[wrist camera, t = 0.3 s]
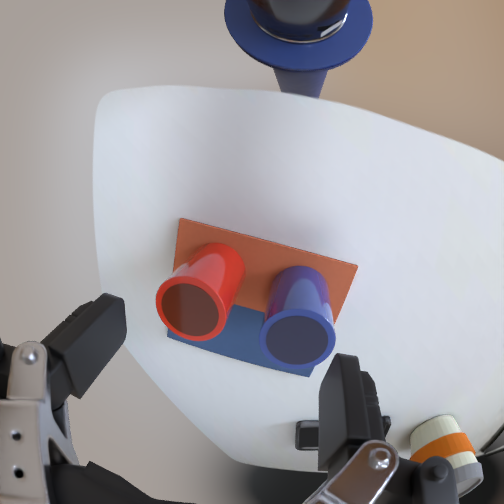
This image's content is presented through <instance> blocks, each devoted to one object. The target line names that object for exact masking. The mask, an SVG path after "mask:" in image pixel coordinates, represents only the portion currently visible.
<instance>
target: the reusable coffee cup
mask: <svg viewBox="0 0 504 504" xmlns="http://www.w3.org/2000/svg"><path fill="white" fill-rule="evenodd" d="M410 445H411V458H410V460H411V461H415V462H419V463H423V462H424V461H425V460H427V459H428V458H430V457H432V456H440V457H443V458H445V459H447V460H448V461H449V462H450V463H451V465H452V467H453V469H454V474H455V479H456V485H457V492H458V498H460V497H461V496H463V495H465V494H467V493H468V492H470V491H471V490H473V489H474V488H475V487H476V486H477V485H479V484H480V483H481V482H482V480H483V473H482V467H481V464H480V463H478V462H477V460H476V458H475V453H476V452H475V450H474V449H473V447H472V445H471V443H470V441H469V439H468V438H467V436H466V434H465V433H462V432H461V430H460V428H459V426H458V425H457V423H456V421H455V419H454V418H453V416H451V415H441V416H438V417H435V418H432V419H430V420H428V421H426V422H424V423H423V424H421V425H420V426H419V427H417V428H416V429H415V430H414V431H413V433H412V434H411V436H410Z"/></svg>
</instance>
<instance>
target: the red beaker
mask: <svg viewBox="0 0 504 504" xmlns="http://www.w3.org/2000/svg"><path fill="white" fill-rule="evenodd" d="M245 276H246V270H245V265H244V262H243V260H242V258H241V257H240V255H239V254H238V253H237V252H236V251H235V250H234V249H232V248H231V247H229V246H227V245H225V244H222V243H207V244H204V245H202V246H200V247H199V248H198V249H197V250H196V251H195V252H194V253H193V254H192V255H191V256H189V257H188V258H187V259H186V260H185V261H184V262H183V263H182V264H181V265H180V266H179V267H178V268H177V269H176V270H175V271H174V272H173V273H172V274H171V275H170V277H169V278H168V279H167V280H166V281H165V282H164V283H163V284H162V285H161V286H160V287H159V289H158V291H157V295H156V308H157V312H158V314H159V316H160V318H161V320H162V321H163V323H164V324H165V325H166V326H167V327H168V328H169V329H170V330H171V331H172V332H174V333H175V334H177V335H178V336H180V337H182V338H185V339H188V340H192V341H206V340H209V339H212V338H214V337H216V336H217V335H218V334H219V333H220V332H221V331H222V330H223V328H224V326H225V324H226V322H227V319H228V317H229V315H230V313H231V310H232V308H233V306H234V303H235V301H236V299H237V297H238V294H239V292H240V290H241V288H242V285H243V283H244V280H245Z"/></svg>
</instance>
